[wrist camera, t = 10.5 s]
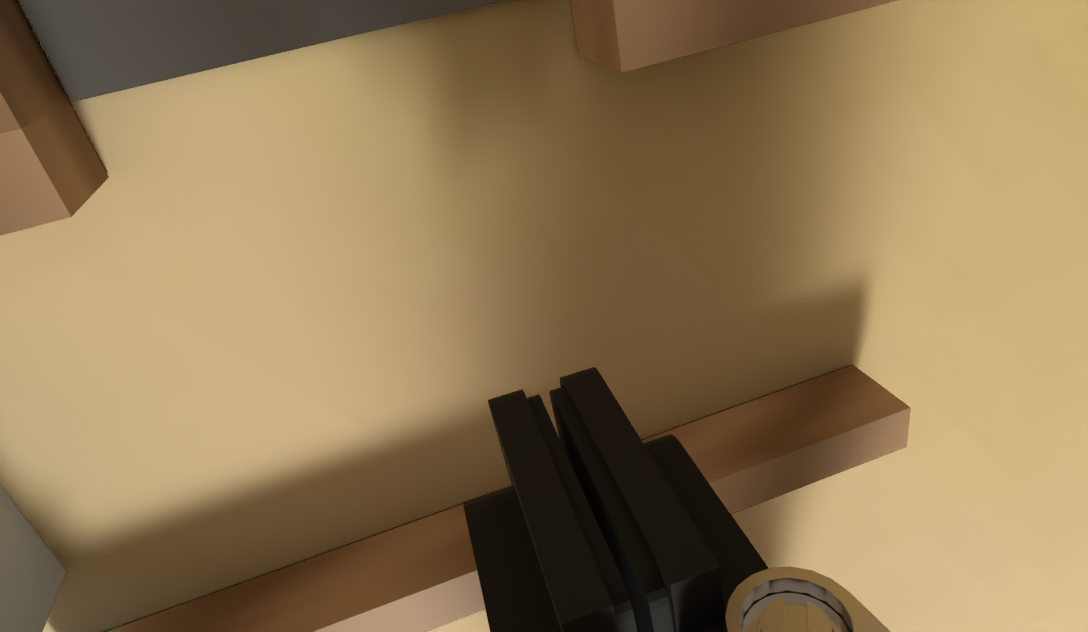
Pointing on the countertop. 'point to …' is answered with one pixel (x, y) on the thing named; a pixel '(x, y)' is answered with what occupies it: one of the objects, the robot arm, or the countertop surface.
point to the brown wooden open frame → (333, 13)
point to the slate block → (25, 572)
